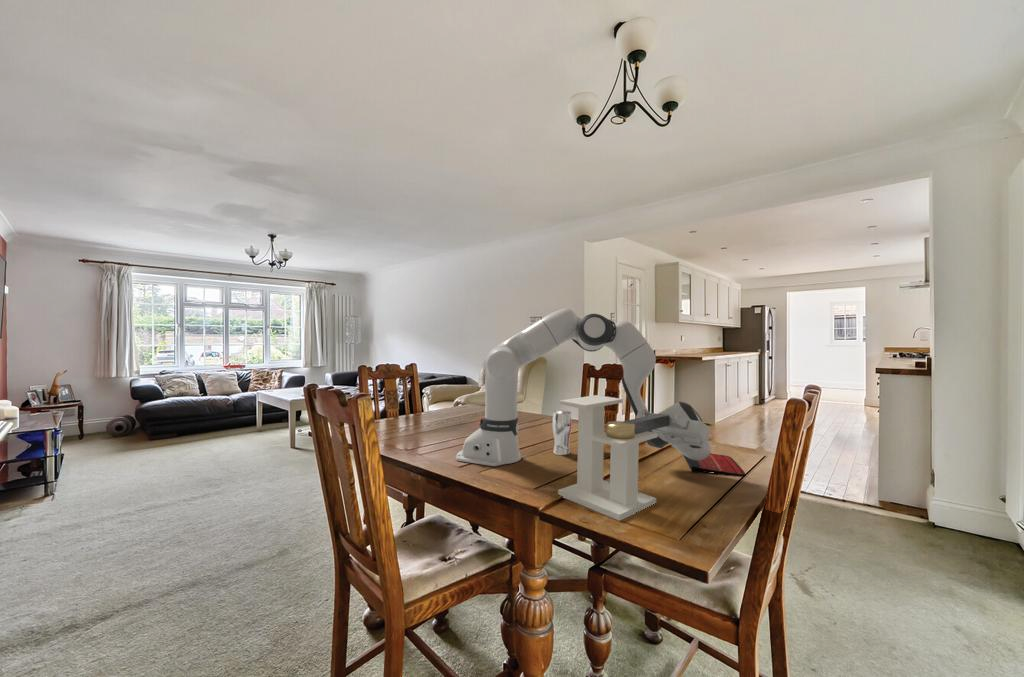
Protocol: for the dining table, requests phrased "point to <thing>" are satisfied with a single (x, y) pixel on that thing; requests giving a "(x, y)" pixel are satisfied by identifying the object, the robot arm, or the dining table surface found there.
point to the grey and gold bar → (635, 426)
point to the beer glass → (562, 431)
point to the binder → (716, 465)
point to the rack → (591, 488)
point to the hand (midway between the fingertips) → (658, 414)
